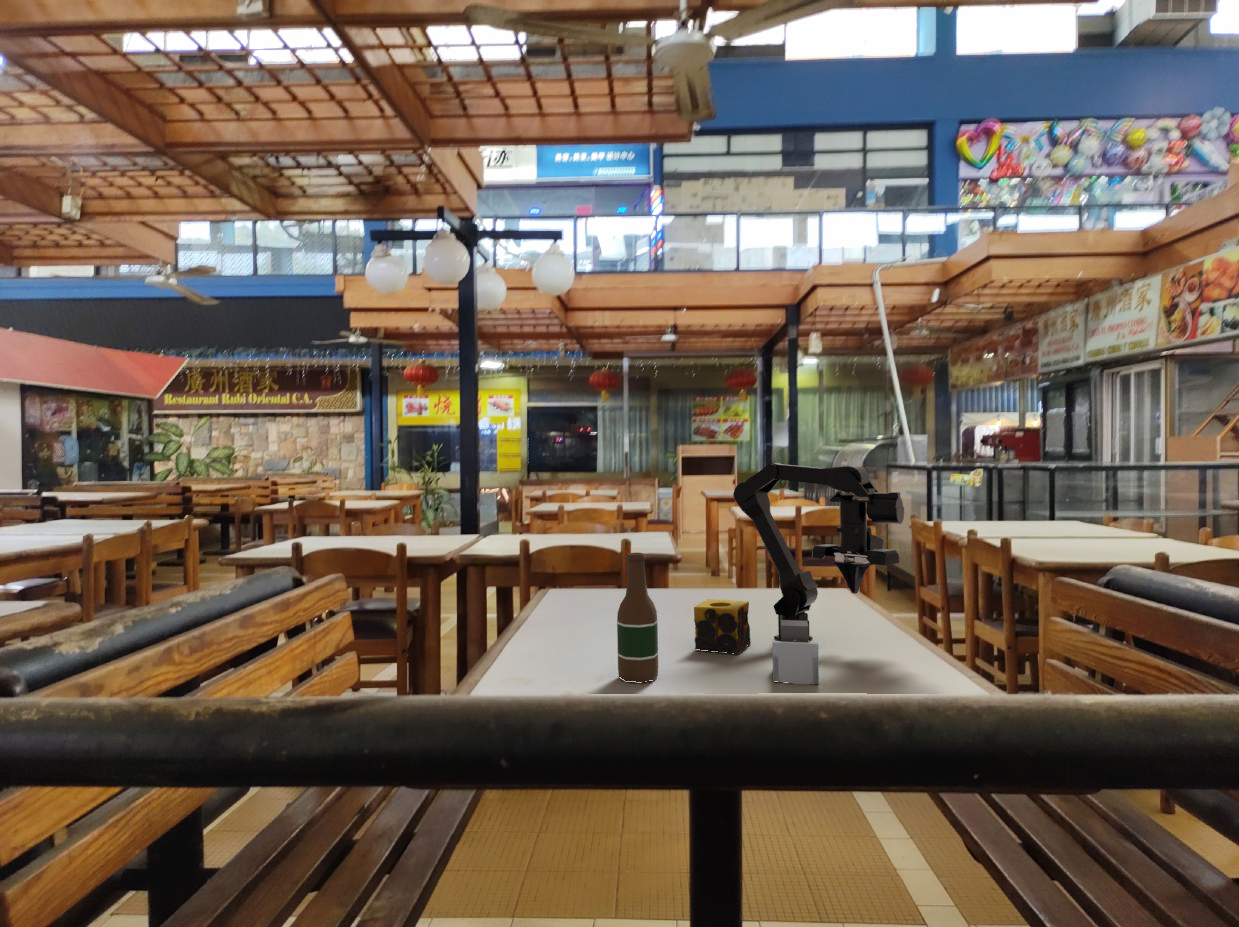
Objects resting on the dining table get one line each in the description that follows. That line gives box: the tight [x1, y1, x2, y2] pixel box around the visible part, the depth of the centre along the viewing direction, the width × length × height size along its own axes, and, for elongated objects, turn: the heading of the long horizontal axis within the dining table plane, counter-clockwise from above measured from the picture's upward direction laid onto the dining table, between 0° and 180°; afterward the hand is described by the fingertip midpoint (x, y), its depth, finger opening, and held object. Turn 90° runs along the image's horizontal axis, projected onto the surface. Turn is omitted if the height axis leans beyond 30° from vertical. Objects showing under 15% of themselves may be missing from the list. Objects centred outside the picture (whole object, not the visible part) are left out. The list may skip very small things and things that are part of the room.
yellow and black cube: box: [693, 598, 751, 655], centre depth 160 cm, size 10×10×10 cm
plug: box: [780, 620, 810, 642], centre depth 137 cm, size 6×5×10 cm
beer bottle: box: [616, 552, 659, 682], centre depth 138 cm, size 8×8×24 cm
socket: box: [772, 640, 820, 685], centre depth 137 cm, size 9×8×8 cm
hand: (854, 593), depth 158 cm, fingers closed
